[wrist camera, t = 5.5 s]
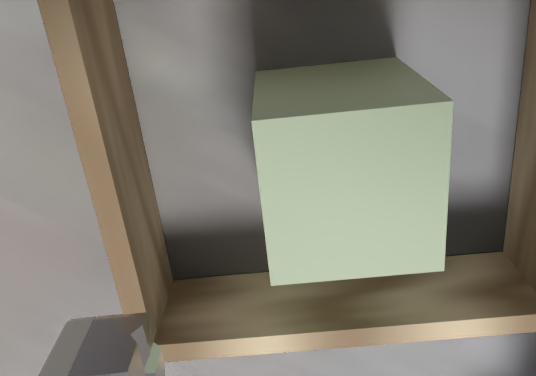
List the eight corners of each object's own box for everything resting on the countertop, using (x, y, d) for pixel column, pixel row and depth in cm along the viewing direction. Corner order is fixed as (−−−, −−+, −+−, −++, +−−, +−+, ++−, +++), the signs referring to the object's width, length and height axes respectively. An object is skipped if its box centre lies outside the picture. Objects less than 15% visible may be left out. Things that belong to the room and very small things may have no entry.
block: (395, 56, 18) (453, 101, 12) (395, 184, 20) (444, 270, 14) (255, 71, 18) (251, 120, 13) (269, 196, 20) (271, 286, 15)
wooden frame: (567, -100, 16) (658, -117, 12) (520, 265, 21) (572, 329, 18) (78, -45, 16) (24, -45, 13) (158, 296, 22) (137, 364, 18)
